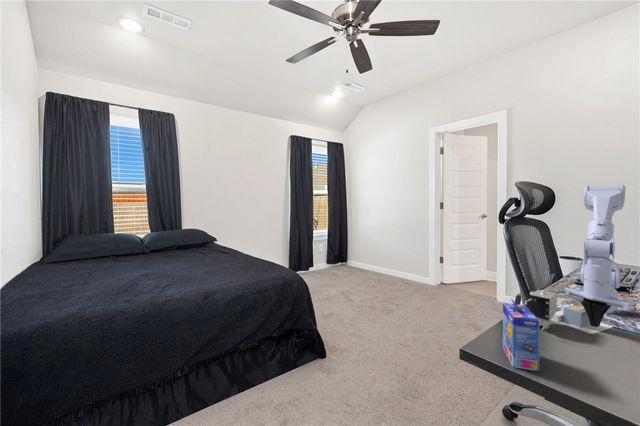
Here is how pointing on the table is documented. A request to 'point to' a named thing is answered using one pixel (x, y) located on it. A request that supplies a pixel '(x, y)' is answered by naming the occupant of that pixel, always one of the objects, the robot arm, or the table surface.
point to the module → (575, 316)
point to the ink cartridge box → (521, 336)
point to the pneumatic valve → (543, 306)
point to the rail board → (589, 329)
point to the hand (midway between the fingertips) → (594, 325)
